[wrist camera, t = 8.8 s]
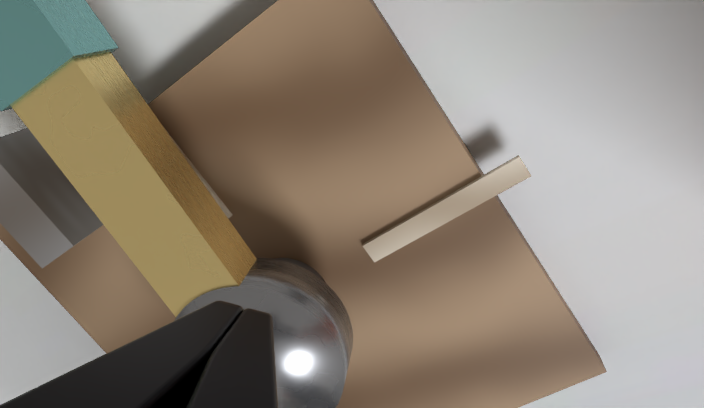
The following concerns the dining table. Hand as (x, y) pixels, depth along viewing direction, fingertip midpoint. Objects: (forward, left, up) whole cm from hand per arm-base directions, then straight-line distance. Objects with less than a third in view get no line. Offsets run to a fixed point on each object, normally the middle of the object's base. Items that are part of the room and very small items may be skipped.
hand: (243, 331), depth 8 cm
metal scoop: (+1, +6, -9) cm, 11 cm away
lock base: (-3, +5, -12) cm, 14 cm away
